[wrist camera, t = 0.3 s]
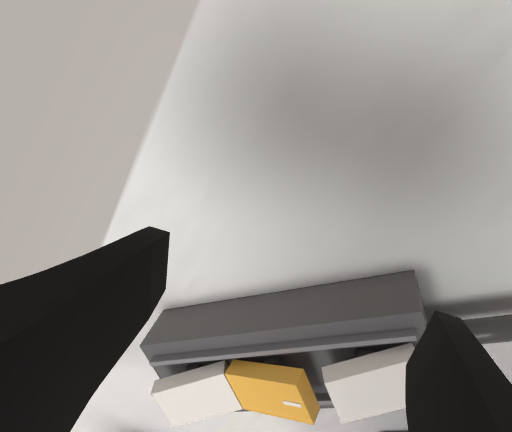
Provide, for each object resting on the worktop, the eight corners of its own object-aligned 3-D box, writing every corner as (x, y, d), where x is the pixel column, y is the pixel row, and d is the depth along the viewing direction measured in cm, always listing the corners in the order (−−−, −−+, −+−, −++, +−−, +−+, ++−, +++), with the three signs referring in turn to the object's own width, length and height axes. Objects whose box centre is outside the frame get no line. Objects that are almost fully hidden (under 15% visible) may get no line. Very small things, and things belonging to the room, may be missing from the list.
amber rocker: (303, 368, 19) (295, 386, 18) (320, 407, 20) (313, 425, 19) (233, 359, 22) (223, 374, 21) (251, 394, 23) (242, 410, 22)
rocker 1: (225, 360, 22) (223, 373, 21) (243, 394, 23) (242, 409, 22) (155, 380, 23) (150, 394, 22) (176, 413, 24) (172, 427, 23)
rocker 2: (411, 342, 18) (419, 357, 17) (423, 384, 19) (431, 401, 18) (321, 367, 19) (324, 383, 18) (337, 406, 20) (341, 424, 19)
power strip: (525, 252, 18) (559, 303, 15) (538, 346, 21) (569, 408, 17) (163, 310, 26) (135, 352, 23) (199, 374, 28) (179, 420, 25)
